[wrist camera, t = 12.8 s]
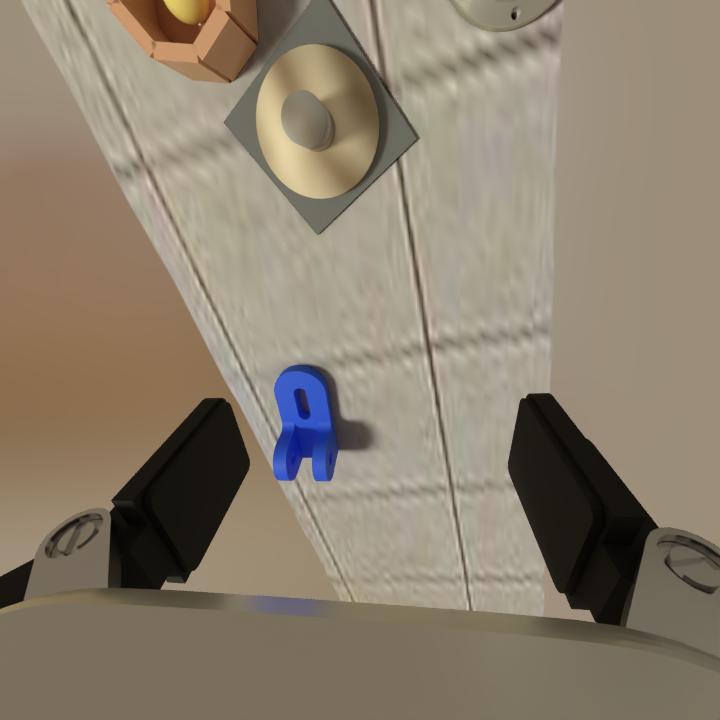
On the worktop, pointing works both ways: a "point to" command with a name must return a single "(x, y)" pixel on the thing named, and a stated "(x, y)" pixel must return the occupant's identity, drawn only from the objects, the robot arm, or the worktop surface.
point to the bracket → (304, 425)
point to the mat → (394, 132)
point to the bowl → (193, 34)
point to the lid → (317, 121)
